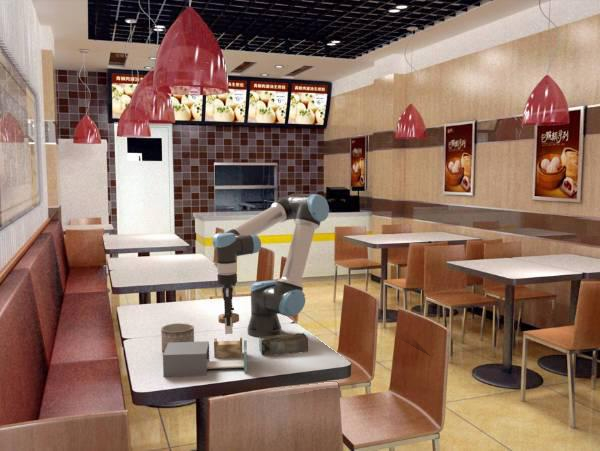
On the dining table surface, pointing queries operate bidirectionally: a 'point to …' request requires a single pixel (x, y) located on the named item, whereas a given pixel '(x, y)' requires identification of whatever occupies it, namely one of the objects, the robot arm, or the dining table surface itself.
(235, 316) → the walnut disc
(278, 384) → the dining table surface
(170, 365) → the housing
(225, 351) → the oak block
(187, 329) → the planter
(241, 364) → the tray
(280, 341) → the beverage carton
